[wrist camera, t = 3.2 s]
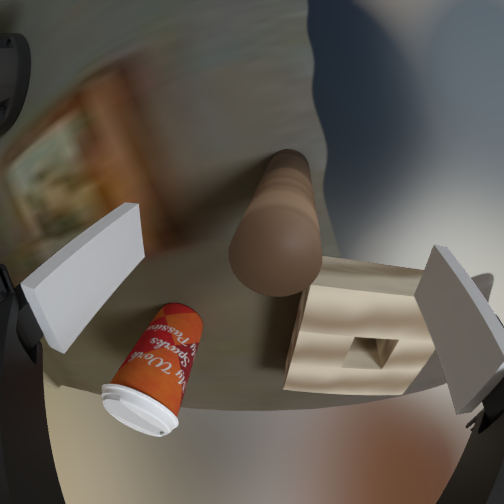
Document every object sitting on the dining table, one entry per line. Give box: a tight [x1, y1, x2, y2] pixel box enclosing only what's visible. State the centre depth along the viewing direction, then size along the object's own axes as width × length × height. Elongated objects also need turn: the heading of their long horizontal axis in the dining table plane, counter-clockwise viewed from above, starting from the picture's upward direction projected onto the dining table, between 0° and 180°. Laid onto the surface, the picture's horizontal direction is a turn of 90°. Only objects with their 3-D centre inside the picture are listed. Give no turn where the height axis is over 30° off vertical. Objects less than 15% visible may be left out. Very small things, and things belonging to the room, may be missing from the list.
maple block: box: [283, 256, 435, 395], centre depth 28 cm, size 16×16×5 cm
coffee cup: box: [102, 303, 203, 437], centre depth 28 cm, size 8×8×15 cm
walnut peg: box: [229, 149, 322, 297], centre depth 17 cm, size 4×4×15 cm
